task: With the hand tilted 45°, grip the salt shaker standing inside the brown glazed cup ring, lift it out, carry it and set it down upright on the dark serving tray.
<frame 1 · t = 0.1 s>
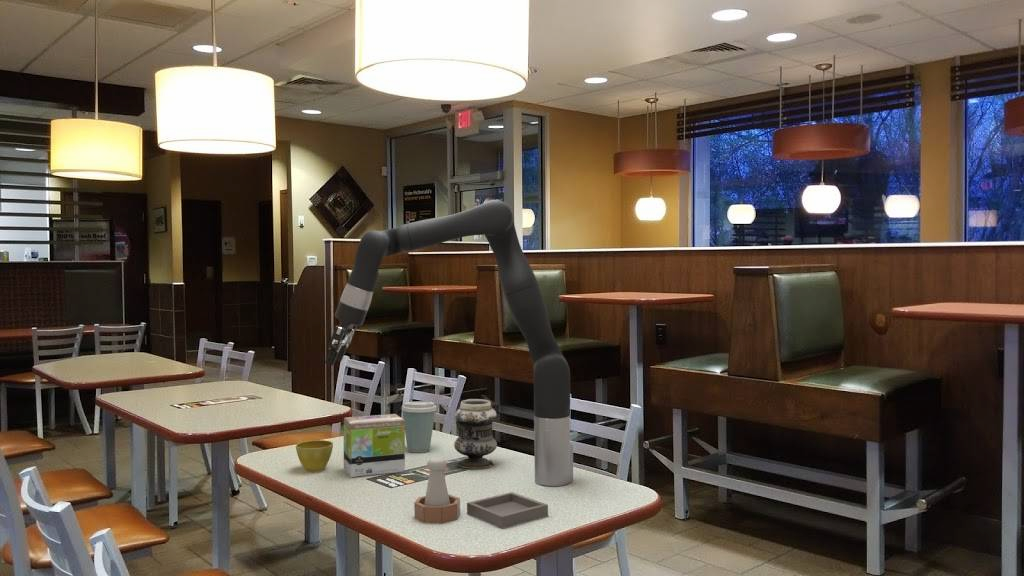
hand: (333, 362, 203), 31 cm above the table, tool tilted 20°, fingers open, 8 cm apart
tray: (507, 514, 176), on the table
disposable coffee cup: (419, 451, 239), on the table
cup ring: (437, 516, 176), on the table
tea box: (374, 471, 216), on the table
apothecary jar: (475, 465, 221), on the table
salt shaker: (437, 516, 176), resting in cup ring
flower pot: (314, 470, 218), on the table
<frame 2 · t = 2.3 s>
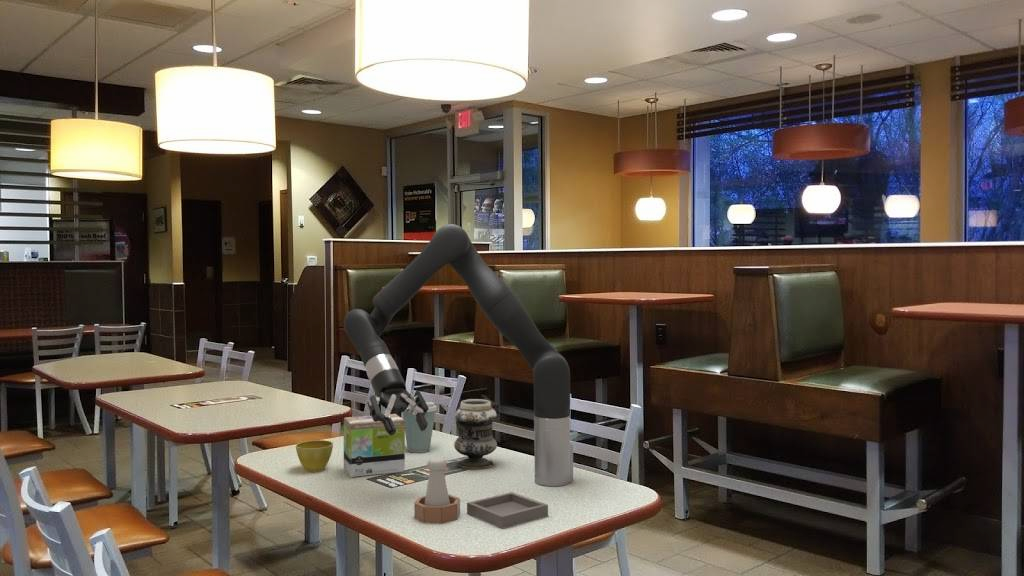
hand: (409, 431, 185), 17 cm above the table, tool tilted 45°, fingers open, 8 cm apart
nothing on the table moved.
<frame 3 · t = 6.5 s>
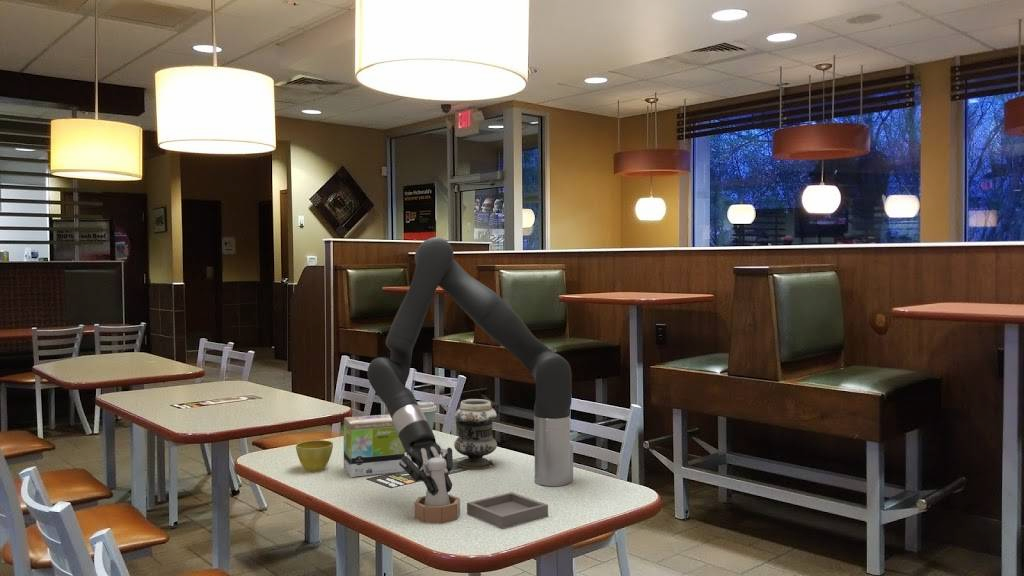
hand: (442, 491, 174), 6 cm above the table, tool tilted 45°, fingers closed on salt shaker, 3 cm apart
salt shaker: (437, 516, 176), resting in cup ring, touching gripper
everything else where it was.
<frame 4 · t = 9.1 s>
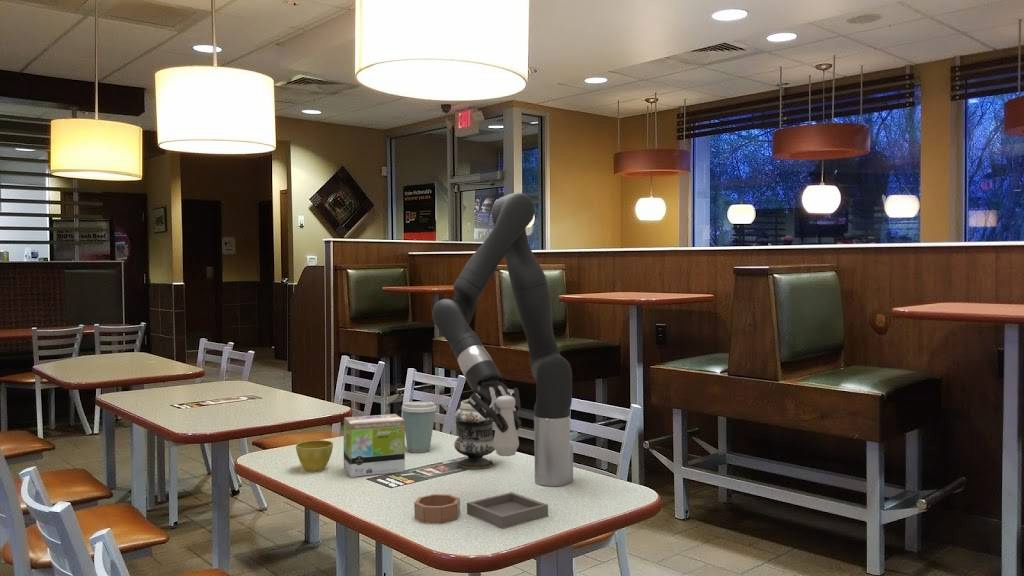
hand: (511, 429, 174), 20 cm above the table, tool tilted 45°, fingers closed on salt shaker, 3 cm apart
salt shaker: (506, 454, 176), point 14 cm above the table, touching gripper
everything else where it was.
when the fingers open (8 cm above the table, at t = 12.2 s): salt shaker stays where it is, resting on tray.
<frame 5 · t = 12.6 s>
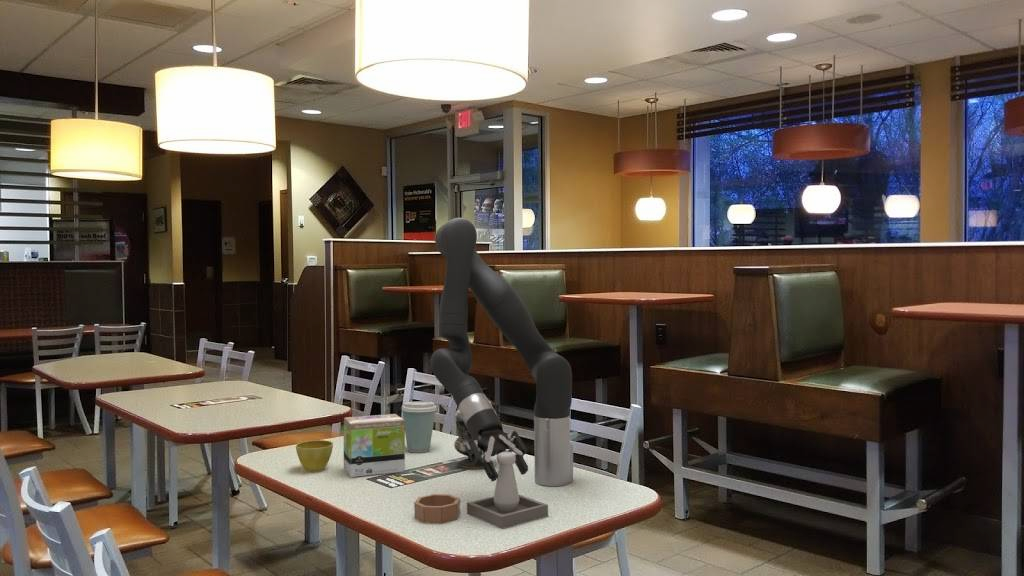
hand: (510, 475, 175), 9 cm above the table, tool tilted 45°, fingers open, 8 cm apart
salt shaker: (506, 510, 177), point 1 cm above the table, touching tray
everything else where it was.
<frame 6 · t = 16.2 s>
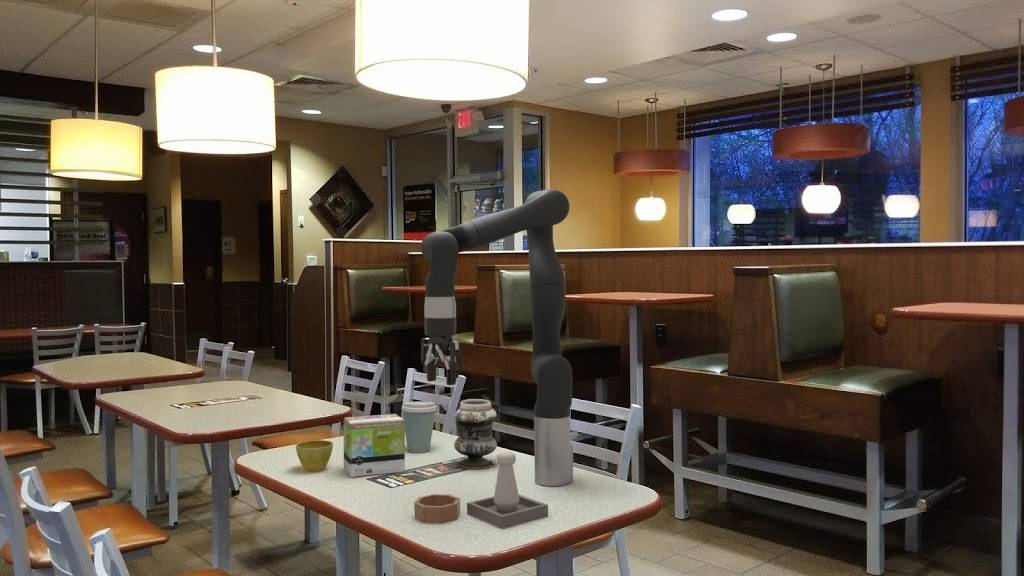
hand: (441, 382, 188), 28 cm above the table, tool pointing down, fingers open, 8 cm apart
nothing on the table moved.
at the end: salt shaker inside the target area on the tray (0.9 cm from its centre), point 0.6 cm above the tray's base; salt shaker tilted 0°; the gripper is holding nothing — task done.
